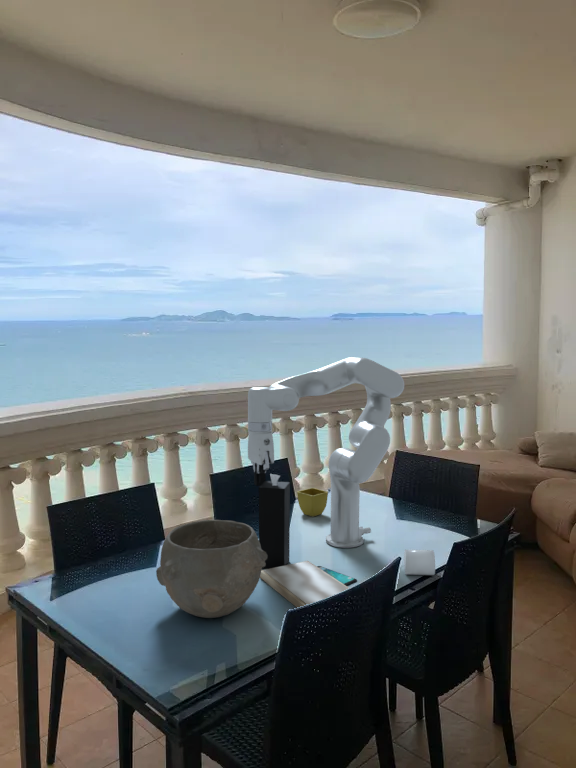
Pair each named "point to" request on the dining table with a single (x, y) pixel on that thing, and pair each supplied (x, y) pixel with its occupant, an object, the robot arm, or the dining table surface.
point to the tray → (302, 583)
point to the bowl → (211, 566)
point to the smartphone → (339, 576)
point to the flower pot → (312, 501)
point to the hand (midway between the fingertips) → (259, 484)
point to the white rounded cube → (419, 562)
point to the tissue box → (274, 521)
